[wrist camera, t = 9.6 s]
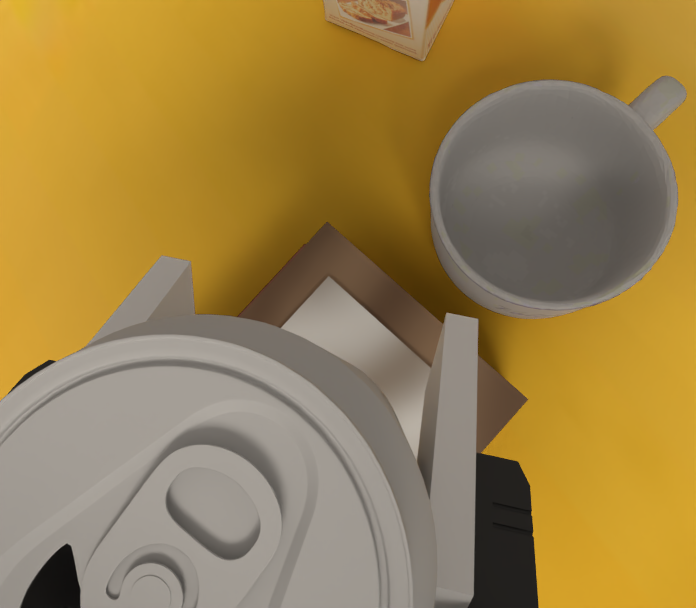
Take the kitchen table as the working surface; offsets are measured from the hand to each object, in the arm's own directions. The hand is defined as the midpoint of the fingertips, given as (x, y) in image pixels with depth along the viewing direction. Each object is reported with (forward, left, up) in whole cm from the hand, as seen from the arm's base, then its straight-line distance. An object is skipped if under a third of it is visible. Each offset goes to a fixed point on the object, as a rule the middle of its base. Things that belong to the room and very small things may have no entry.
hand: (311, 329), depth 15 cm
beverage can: (-2, +3, -4) cm, 6 cm away
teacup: (-3, -13, -19) cm, 23 cm away
